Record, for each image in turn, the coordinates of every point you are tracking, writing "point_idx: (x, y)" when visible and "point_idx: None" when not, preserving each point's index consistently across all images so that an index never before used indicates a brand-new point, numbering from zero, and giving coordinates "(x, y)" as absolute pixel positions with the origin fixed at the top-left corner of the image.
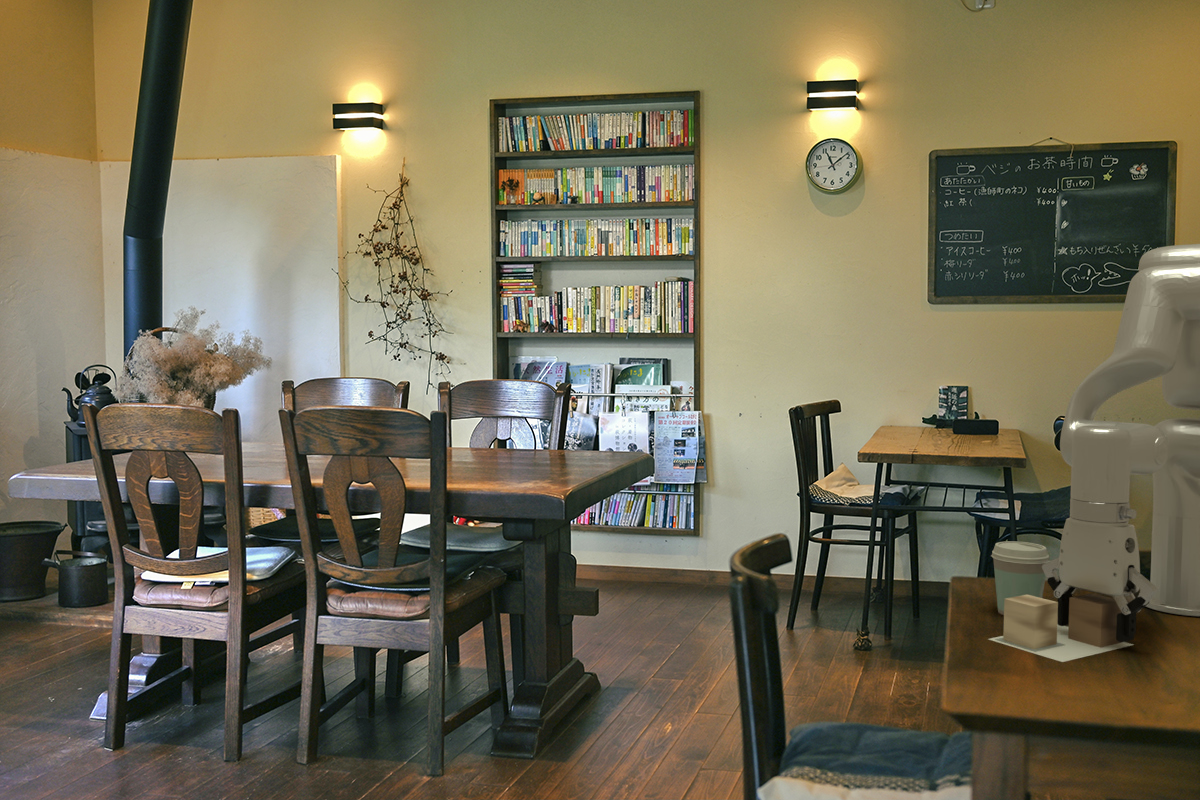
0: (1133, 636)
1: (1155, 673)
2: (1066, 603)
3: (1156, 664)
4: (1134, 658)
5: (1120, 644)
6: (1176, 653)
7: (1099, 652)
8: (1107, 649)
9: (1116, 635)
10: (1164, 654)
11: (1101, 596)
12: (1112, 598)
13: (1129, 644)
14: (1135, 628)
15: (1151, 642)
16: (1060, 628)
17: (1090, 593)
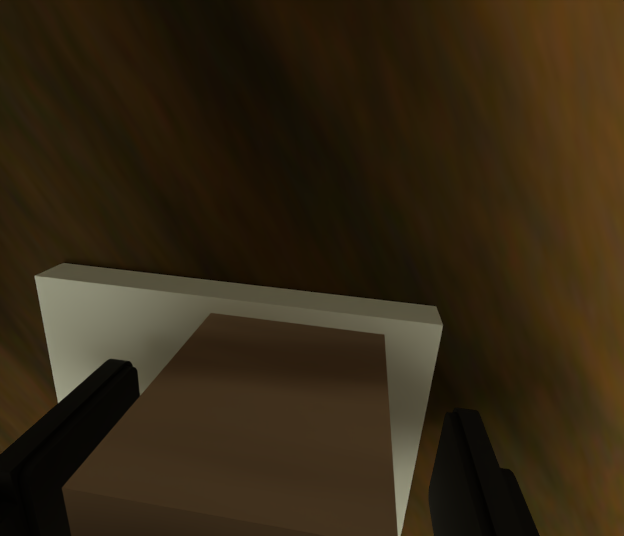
0: (478, 419)
1: (611, 490)
2: (64, 531)
3: (576, 384)
4: (471, 373)
5: (396, 370)
6: (598, 124)
7: (397, 529)
8: (397, 476)
9: (432, 516)
10: (552, 202)
11: (181, 523)
12: (283, 531)
13: (425, 339)
14: (522, 500)
15: (408, 19)
16: (94, 337)
17: (63, 493)
